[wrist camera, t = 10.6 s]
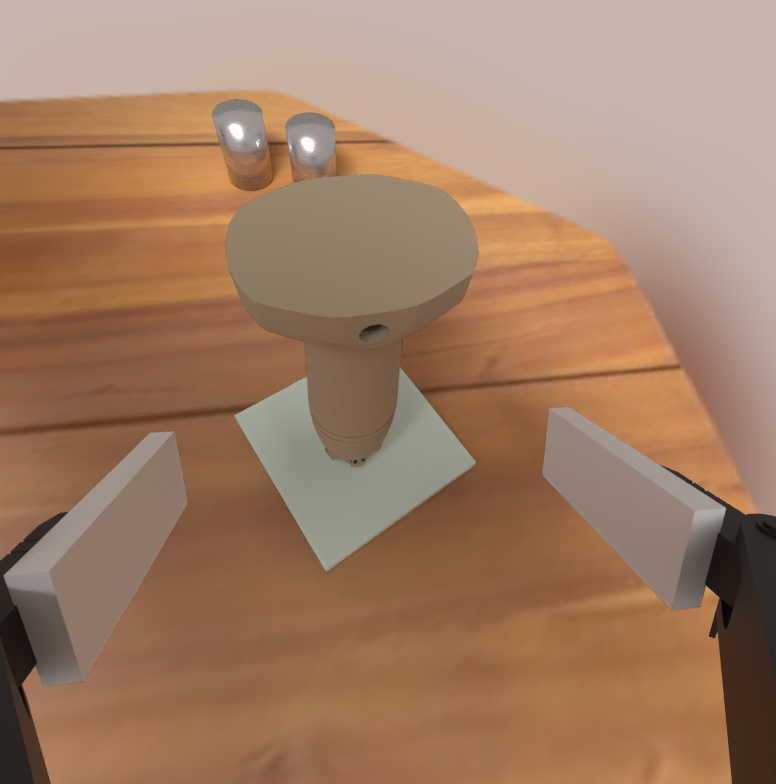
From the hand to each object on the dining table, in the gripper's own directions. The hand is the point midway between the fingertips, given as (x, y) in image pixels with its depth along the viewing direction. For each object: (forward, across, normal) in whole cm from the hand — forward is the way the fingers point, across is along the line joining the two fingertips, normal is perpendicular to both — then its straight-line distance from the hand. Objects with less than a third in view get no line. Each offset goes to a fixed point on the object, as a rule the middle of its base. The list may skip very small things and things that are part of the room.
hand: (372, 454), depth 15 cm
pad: (+10, 0, -4) cm, 10 cm away
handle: (+9, 0, -4) cm, 10 cm away
